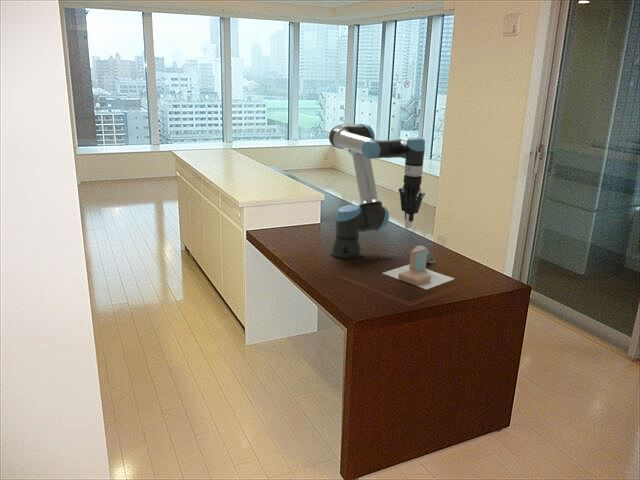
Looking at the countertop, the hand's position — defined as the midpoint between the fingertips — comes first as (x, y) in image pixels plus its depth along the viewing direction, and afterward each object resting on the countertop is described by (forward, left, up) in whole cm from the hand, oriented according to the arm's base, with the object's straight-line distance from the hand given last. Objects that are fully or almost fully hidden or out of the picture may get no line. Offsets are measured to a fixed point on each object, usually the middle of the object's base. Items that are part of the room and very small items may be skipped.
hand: (408, 227), depth 233 cm
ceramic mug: (-1, +15, -20) cm, 25 cm away
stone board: (+10, -4, -20) cm, 23 cm away
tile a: (+8, -9, -17) cm, 21 cm away
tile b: (+6, +1, -19) cm, 20 cm away
